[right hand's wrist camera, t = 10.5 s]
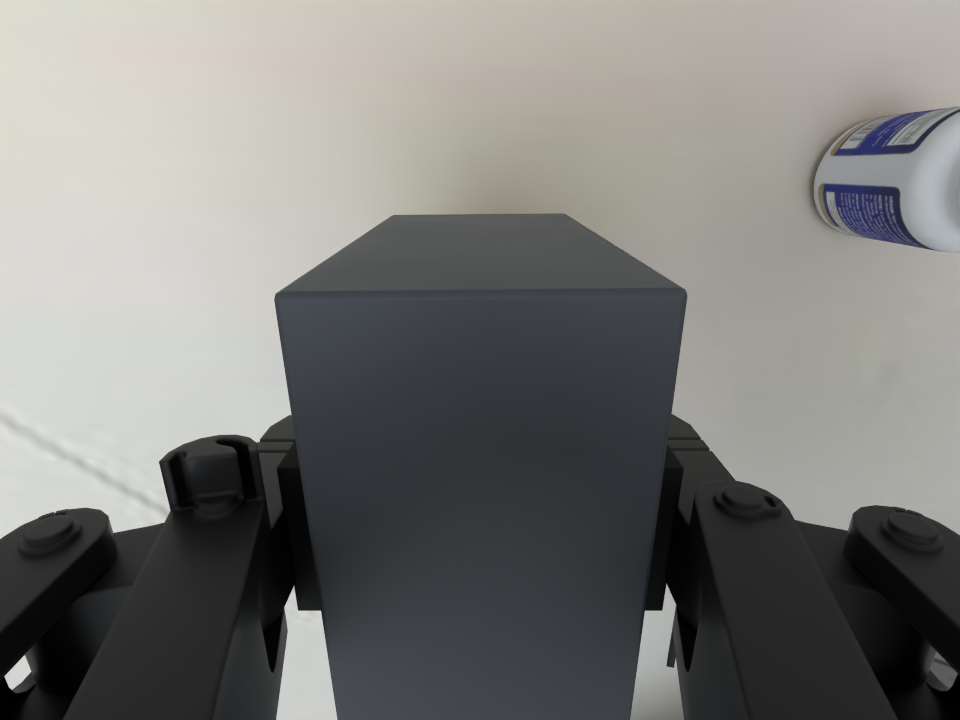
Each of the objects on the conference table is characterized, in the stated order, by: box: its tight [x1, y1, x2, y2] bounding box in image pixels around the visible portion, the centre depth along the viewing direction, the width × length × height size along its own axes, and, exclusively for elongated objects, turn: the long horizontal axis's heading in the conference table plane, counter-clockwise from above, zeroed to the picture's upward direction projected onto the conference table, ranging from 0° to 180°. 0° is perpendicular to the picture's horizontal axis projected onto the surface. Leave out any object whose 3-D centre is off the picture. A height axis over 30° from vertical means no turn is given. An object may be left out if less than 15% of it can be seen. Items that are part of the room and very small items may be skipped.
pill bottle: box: [814, 107, 960, 253], centre depth 21 cm, size 5×5×9 cm
